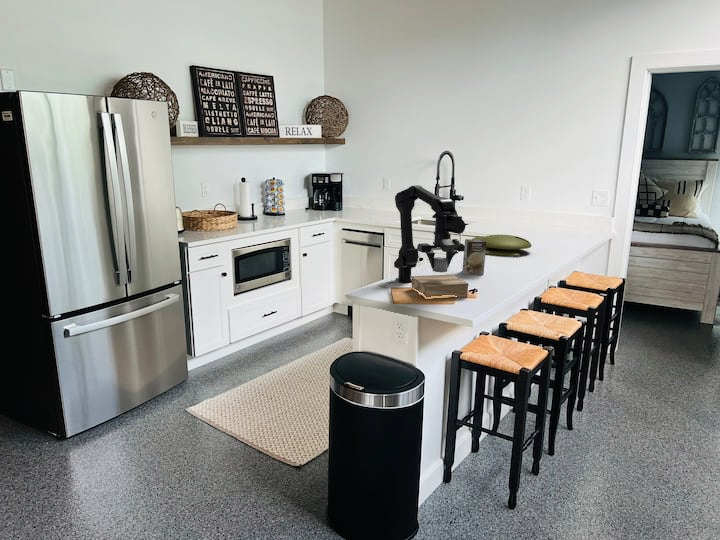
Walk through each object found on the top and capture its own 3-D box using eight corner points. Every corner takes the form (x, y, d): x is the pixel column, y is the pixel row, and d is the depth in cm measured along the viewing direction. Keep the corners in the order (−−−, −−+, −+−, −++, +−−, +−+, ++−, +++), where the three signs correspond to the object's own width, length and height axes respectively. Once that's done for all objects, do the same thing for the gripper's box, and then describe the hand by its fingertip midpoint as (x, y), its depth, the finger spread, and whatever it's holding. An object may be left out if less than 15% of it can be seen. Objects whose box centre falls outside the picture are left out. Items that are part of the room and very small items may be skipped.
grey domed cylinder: (429, 269, 218) (430, 257, 217) (441, 268, 221) (441, 256, 220) (438, 272, 213) (439, 260, 212) (450, 271, 216) (451, 259, 215)
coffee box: (465, 274, 252) (467, 241, 248) (462, 271, 258) (464, 239, 255) (484, 274, 252) (486, 241, 249) (480, 271, 259) (483, 239, 255)
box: (411, 289, 224) (411, 277, 223) (450, 287, 229) (451, 275, 228) (425, 299, 209) (426, 287, 208) (467, 297, 214) (468, 285, 213)
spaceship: (466, 254, 303) (468, 237, 300) (471, 245, 331) (473, 229, 329) (530, 259, 293) (532, 241, 291) (530, 249, 321) (532, 233, 319)
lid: (411, 277, 223) (411, 276, 223) (451, 275, 228) (451, 274, 228) (425, 287, 208) (426, 285, 208) (468, 285, 213) (468, 283, 213)
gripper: (428, 234, 203) (426, 273, 207) (472, 233, 208) (469, 271, 212) (417, 229, 214) (415, 267, 217) (459, 228, 218) (457, 265, 222)
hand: (439, 268), depth 217 cm, fingers closed on grey domed cylinder, 6 cm apart
